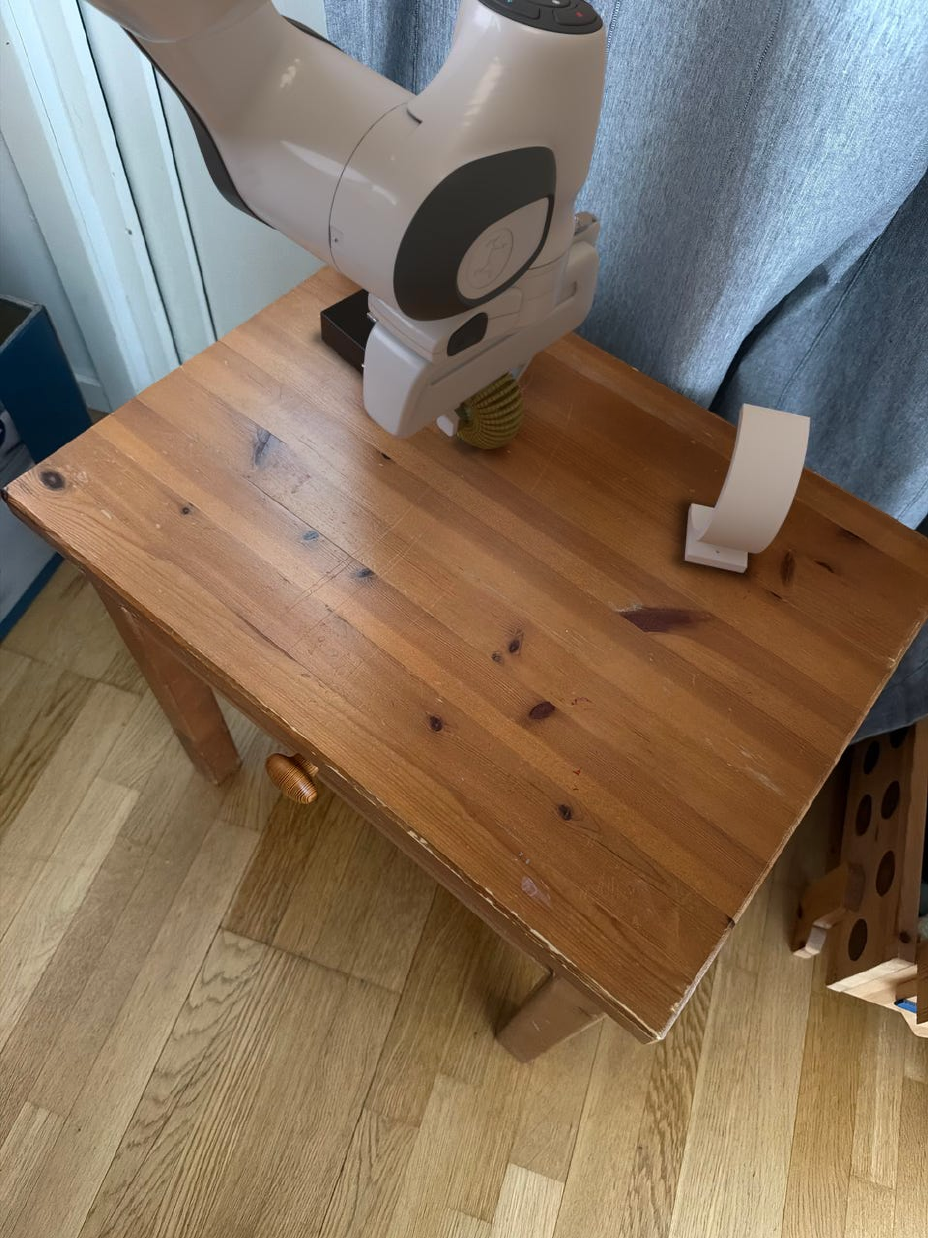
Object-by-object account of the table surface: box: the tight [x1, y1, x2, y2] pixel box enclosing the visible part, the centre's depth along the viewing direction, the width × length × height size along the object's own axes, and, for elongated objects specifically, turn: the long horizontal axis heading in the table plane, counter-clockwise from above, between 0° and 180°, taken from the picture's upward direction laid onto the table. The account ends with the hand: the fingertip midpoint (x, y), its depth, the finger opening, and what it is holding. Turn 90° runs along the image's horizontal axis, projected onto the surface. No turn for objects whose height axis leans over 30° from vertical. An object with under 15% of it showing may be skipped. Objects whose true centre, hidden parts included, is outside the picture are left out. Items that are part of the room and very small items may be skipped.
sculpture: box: [455, 372, 525, 450], centre depth 69 cm, size 8×4×8 cm, turn 46°
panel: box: [319, 288, 377, 377], centre depth 76 cm, size 13×11×3 cm
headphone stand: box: [684, 402, 811, 574], centre depth 64 cm, size 5×6×12 cm
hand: (475, 411), depth 70 cm, fingers closed on sculpture, 4 cm apart
